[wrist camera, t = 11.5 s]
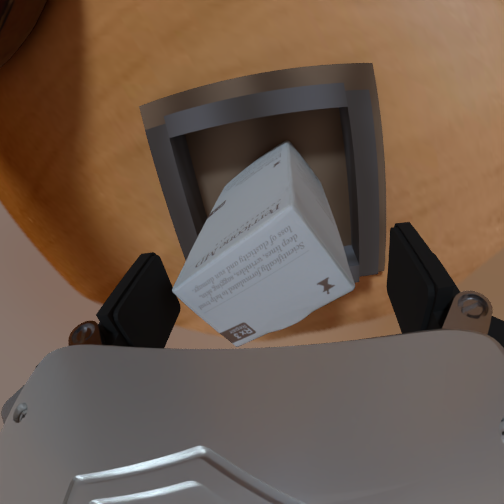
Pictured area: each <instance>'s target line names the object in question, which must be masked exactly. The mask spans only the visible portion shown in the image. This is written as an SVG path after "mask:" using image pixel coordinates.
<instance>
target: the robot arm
mask: <svg viewBox="0 0 504 504" xmlns="http://www.w3.org/2000/svg"><path fill="white" fill-rule="evenodd" d="M172 289H173V287H172V285H171V282H170V280H169V278H168V275H167V273H166V270H165V268H164V266H163V263H162V261H161V258H160V257H159V256H158V255H156V254H155V253H154V252H152V253H145V254H141V255H140V256H139V257H138V259H137V260H136V261H135V262H134V264H133V265H132V266H131V268H130V269H129V270H128V272H127V273H126V274H125V276H124V277H123V278H122V280H121V281H120V282H119V284H118V285H117V286H116V288H115V289H114V290H113V292H112V293H111V295H110V296H109V297H108V299H107V300H106V302H105V303H104V304H103V306H102V307H101V309H100V310H99V312H98V313H97V314H96V316H97V317H98V319H99V321H100V322H99V324H97V323H96V322H95V321H86V322H83V323H81V324H80V325H78V326H77V327H76V328H74V329H73V331H72V332H71V334H70V336H69V346H67V347H63V348H60V349H57V350H55V351H53V352H51V353H49V354H47V355H46V356H45V357H44V358H43V360H42V361H41V362H40V363H39V364H38V365H37V366H36V368H35V370H34V372H33V373H32V375H31V376H30V378H29V379H28V381H27V382H26V384H25V385H24V386H23V387H22V388H21V389H20V390H18V391H17V392H16V393H15V394H14V395H13V396H12V397H11V398H10V399H9V400H7V401H6V403H5V404H4V406H3V408H2V411H1V415H2V419H3V422H4V426H3V428H2V430H1V432H0V504H504V321H502V320H500V319H497V318H496V317H493V316H492V312H493V310H492V305H491V302H490V301H489V300H488V298H486V297H485V296H484V295H482V294H480V293H478V292H475V291H463V292H460V291H459V289H458V288H457V286H456V285H455V283H454V282H453V280H452V279H451V277H450V275H449V274H448V272H447V271H446V270H445V268H444V267H443V265H442V264H441V262H440V261H439V259H438V258H437V256H436V255H435V254H434V253H432V251H431V250H430V249H429V247H428V246H427V245H426V243H425V242H424V240H423V239H422V238H421V236H420V235H419V234H418V232H417V231H416V230H415V229H414V227H413V226H412V225H411V223H410V222H405V223H396V224H395V226H394V228H391V229H390V246H389V263H388V276H387V293H388V296H389V298H390V301H391V304H392V306H393V309H394V312H395V315H396V317H397V320H398V323H399V326H400V329H401V332H402V334H396V335H387V336H381V337H374V338H366V339H359V340H350V341H342V342H332V343H323V344H311V345H300V346H285V347H271V348H270V347H268V348H244V349H170V348H164V347H165V345H166V342H167V340H168V338H169V335H170V333H171V331H172V328H173V326H174V324H175V322H176V319H177V317H178V315H179V313H180V303H179V301H178V299H177V296H176V295H175V294H174V293H173V292H172Z"/></svg>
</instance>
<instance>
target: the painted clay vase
mask: <svg viewBox="0 0 504 504" xmlns="http://www.w3.org/2000/svg"><path fill="white" fill-rule="evenodd" d="M46 1H47V0H0V67H2V66H3V65H4V64H5V63H6V62H7V61H8V60H9V59H10V57H11V56H12V55H13V54H14V53H15V52H16V51H17V50H18V48H19V47H20V46H21V45H22V43H23V42H24V41H25V39H26V38H27V36H28V35H29V33H30V32H31V31H32V29H33V27H34V26H35V24H36V22H37V20H38V18H39V16H40V14H41V12H42V10H43V8H44V6H45V3H46Z"/></svg>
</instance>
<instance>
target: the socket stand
mask: <svg viewBox="0 0 504 504" xmlns="http://www.w3.org/2000/svg"><path fill="white" fill-rule="evenodd" d="M139 107H140V111H141V115H142V119H143V123H144V127H145V132H146V135H147V139H148V143H149V146H150V150H151V153H152V157H153V160H154V164H155V167H156V171H157V174H158V177H159V181H160V184H161V187H162V191H163V194H164V197H165V200H166V203H167V207H168V210H169V213H170V216H171V219H172V222H173V225H174V228H175V231H176V234H177V237H178V240H179V243H180V246H181V248H182V251H183V254H184V257H185V260H187V258H188V256H189V253H190V251H191V249H192V247H193V245H194V243H195V241H196V239H197V237H198V235H199V233H200V232H201V230H202V228H203V226H204V224H205V222H206V220H207V218H208V216H209V214H210V213H211V211H212V209H213V207H214V205H215V203H216V201H217V199H218V198H219V196H220V194H221V192H222V190H223V189H224V187H225V186H226V185H227V184H228V183H229V182H230V181H231V180H232V179H233V178H234V177H236V176H237V175H238V174H239V173H241V172H242V171H243V170H244V169H245V168H247V167H248V166H249V165H251V164H252V163H253V162H254V161H256V160H257V159H258V158H260V157H261V156H263V155H264V154H266V153H267V152H268V151H270V150H271V149H273V148H274V147H276V146H278V145H279V144H281V143H282V142H284V141H290V142H291V144H292V145H293V146H294V147H295V148H296V150H297V151H298V152H299V154H300V155H301V156H302V157H303V159H304V160H305V161H306V163H307V164H308V165H309V167H310V168H311V169H312V171H313V172H314V174H315V175H316V176H317V178H318V179H319V180H320V182H321V184H322V187H323V190H324V192H325V195H326V198H327V200H328V203H329V206H330V209H331V211H332V214H333V217H334V220H335V223H336V226H337V229H338V231H339V235H340V238H341V241H342V244H343V247H344V251H345V254H346V258H347V262H348V265H349V269H350V271H351V274H352V277H353V280H354V283H355V282H359V277H360V276H367V275H374V274H378V272H380V271H384V266H385V246H386V181H385V161H384V147H383V136H382V126H381V117H380V109H379V101H378V94H377V88H376V82H375V76H374V70H373V65H372V63H352V64H332V65H319V66H309V67H300V68H291V69H284V70H277V71H271V72H265V73H259V74H254V75H248V76H243V77H239V78H234V79H229V80H225V81H221V82H217V83H213V84H209V85H205V86H201V87H197V88H194V89H190V90H187V91H184V92H180V93H177V94H174V95H171V96H168V97H164V98H161V99H159V100H156V101H153V102H150V103H147V104H144V105H142V106H139Z"/></svg>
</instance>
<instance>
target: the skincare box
mask: <svg viewBox="0 0 504 504" xmlns="http://www.w3.org/2000/svg"><path fill="white" fill-rule="evenodd" d="M354 288H355V283H354V280H353V277H352V274H351V271H350V269H349V265H348V262H347V258H346V254H345V251H344V247H343V244H342V241H341V238H340V235H339V231H338V229H337V226H336V223H335V220H334V217H333V214H332V211H331V209H330V206H329V203H328V200H327V198H326V195H325V192H324V190H323V187H322V184H321V182H320V180H319V179H318V178H317V176H316V175H315V174H314V172H313V171H312V169H311V168H310V167H309V165H308V164H307V163H306V161H305V160H304V159H303V157H302V156H301V155H300V154H299V152H298V151H297V150H296V148H295V147H294V146H293V145H292V144H291V142H290V141H284V142H282V143H281V144H279V145H278V146H276V147H274V148H273V149H271V150H270V151H268V152H267V153H266V154H264V155H263V156H261V157H260V158H258V159H257V160H256V161H254V162H253V163H252V164H251V165H249V166H248V167H247V168H245V169H244V170H243V171H242V172H241V173H239V174H238V175H237V176H236V177H234V178H233V179H232V180H231V181H230V182H229V183H228V184H227V185H226V186H225V187H224V189H223V190H222V192H221V194H220V196H219V198H218V199H217V201H216V203H215V205H214V207H213V209H212V211H211V213H210V214H209V216H208V218H207V220H206V222H205V224H204V226H203V228H202V230H201V232H200V233H199V235H198V237H197V239H196V241H195V243H194V245H193V247H192V249H191V251H190V253H189V256H188V258H187V260H186V262H185V264H184V267H183V269H182V270H181V272H180V274H179V277H178V278H177V281H176V282H175V285H174V287H173V289H172V292H173V293H174V294H175V295H176V296H177V297H178V298H179V299H180V300H181V301H183V302H184V303H185V304H186V305H187V306H188V307H189V308H190V309H191V310H192V311H194V312H195V313H196V314H197V315H198V316H199V317H201V318H202V319H203V320H204V321H205V322H207V323H208V324H209V325H210V326H212V327H213V328H214V329H215V330H216V331H218V332H219V333H220V334H221V335H223V336H224V337H225V338H226V339H228V340H229V341H230V342H231V343H233V344H234V345H235V346H236V347H238V346H241V345H243V344H245V343H247V342H250V341H252V340H254V339H256V338H258V337H261V336H263V335H265V334H267V333H270V332H274V331H278V330H281V329H284V328H286V327H289V326H291V325H293V324H296V323H297V322H299V321H301V320H302V319H304V318H305V317H307V316H308V315H309V314H310V313H311V312H313V311H315V310H317V309H319V308H320V307H322V306H324V305H326V304H328V303H330V302H332V301H334V300H336V299H337V298H339V297H341V296H343V295H345V294H347V293H349V292H351V291H352V290H353V289H354Z"/></svg>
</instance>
